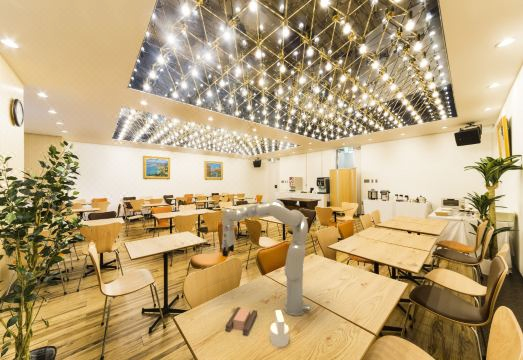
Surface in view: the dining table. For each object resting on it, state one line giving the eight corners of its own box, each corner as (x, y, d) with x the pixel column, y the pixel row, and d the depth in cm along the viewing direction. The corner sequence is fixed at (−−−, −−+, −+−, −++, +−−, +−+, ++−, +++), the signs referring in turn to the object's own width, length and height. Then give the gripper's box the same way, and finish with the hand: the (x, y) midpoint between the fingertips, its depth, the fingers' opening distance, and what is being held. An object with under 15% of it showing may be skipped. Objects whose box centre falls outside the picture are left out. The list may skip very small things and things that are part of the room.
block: (250, 318, 119) (250, 309, 119) (244, 331, 110) (243, 321, 110) (240, 316, 121) (240, 308, 121) (233, 328, 111) (233, 319, 111)
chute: (257, 315, 121) (257, 310, 121) (247, 336, 106) (247, 330, 106) (237, 312, 125) (237, 307, 125) (225, 331, 109) (225, 325, 109)
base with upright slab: (269, 333, 107) (269, 310, 107) (286, 332, 108) (286, 309, 108) (271, 348, 98) (271, 322, 98) (290, 346, 99) (290, 321, 99)
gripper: (227, 231, 129) (227, 259, 129) (238, 225, 145) (238, 249, 145) (216, 230, 131) (216, 257, 131) (228, 224, 147) (228, 248, 147)
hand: (228, 253), depth 138 cm, fingers open, 9 cm apart
